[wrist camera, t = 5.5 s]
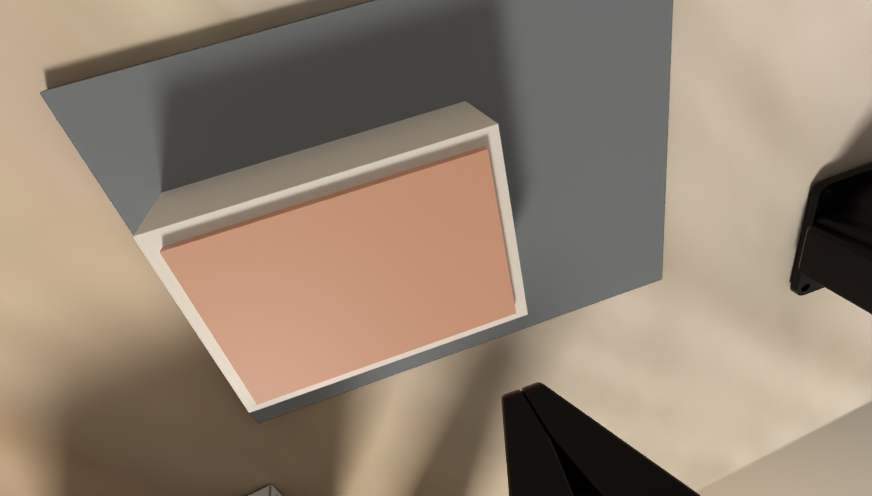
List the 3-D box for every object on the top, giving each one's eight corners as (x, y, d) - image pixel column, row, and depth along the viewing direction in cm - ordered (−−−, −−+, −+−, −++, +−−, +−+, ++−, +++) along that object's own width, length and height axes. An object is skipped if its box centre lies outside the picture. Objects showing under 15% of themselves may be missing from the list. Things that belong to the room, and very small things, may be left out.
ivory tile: (502, 126, 13) (128, 241, 12) (531, 319, 16) (248, 420, 15) (465, 100, 16) (161, 192, 15) (497, 270, 19) (255, 353, 18)
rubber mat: (667, -81, 15) (676, -82, 15) (656, 274, 22) (662, 279, 22) (45, 89, 13) (39, 92, 13) (258, 416, 20) (257, 423, 20)
